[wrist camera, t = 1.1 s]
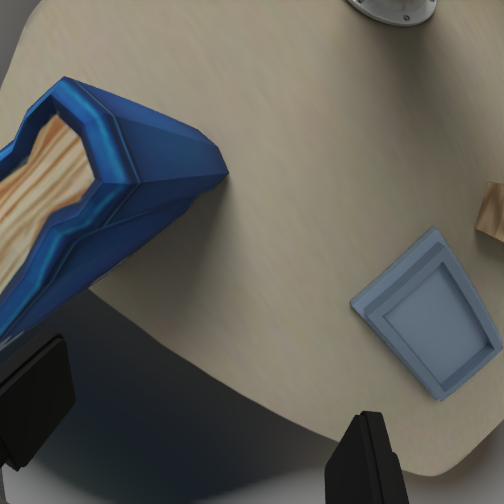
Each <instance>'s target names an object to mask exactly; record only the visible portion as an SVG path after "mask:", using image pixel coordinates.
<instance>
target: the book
mask: <svg viewBox="0 0 504 504" xmlns="http://www.w3.org/2000/svg"><path fill="white" fill-rule="evenodd" d="M228 174H229V171H228V169H227V167H226V164H225V162H224V160H223V157H222V155H221V153H220V150H219V148H218V147H217V146H216V145H215V144H214V143H213V142H212V141H210V140H209V139H208V138H207V137H206V136H205V135H203V134H202V133H201V132H200V131H199V130H198V129H195V128H193V127H191V126H189V125H187V124H184V123H182V122H180V121H178V120H175V119H173V118H171V117H169V116H166V115H164V114H162V113H159V112H157V111H154V110H152V109H150V108H147V107H145V106H142V105H140V104H138V103H135V102H133V101H130V100H128V99H125V98H123V97H120V96H117V95H115V94H112V93H110V92H107V91H104V90H102V89H99V88H96V87H93V86H91V85H88V84H85V83H82V82H80V81H77V80H74V79H71V78H68V77H65V76H64V77H63V78H61V79H60V80H59V81H58V82H57V83H56V84H54V85H53V86H52V87H51V88H50V89H49V90H48V91H47V92H46V93H45V94H44V95H42V96H41V97H40V98H39V99H38V100H37V101H36V102H35V103H34V104H33V105H32V106H31V107H30V108H29V109H28V110H27V112H26V114H25V116H24V119H23V121H22V123H21V125H20V127H19V130H18V132H17V134H16V136H15V139H14V140H13V141H12V142H10V143H9V144H8V145H7V146H5V147H4V148H3V149H2V150H1V151H0V352H1V351H2V350H3V349H4V348H6V347H7V346H8V345H10V344H11V343H12V342H14V341H15V340H16V339H18V338H19V337H20V336H22V335H23V334H24V333H26V332H27V331H28V330H30V329H31V328H32V327H34V326H35V325H36V324H38V323H39V322H41V321H42V320H43V319H44V318H46V317H47V316H49V315H50V314H51V313H53V312H54V311H56V310H57V309H59V308H60V307H61V306H63V305H64V304H65V303H67V302H68V301H70V300H71V299H73V298H74V297H76V296H77V295H79V294H80V293H81V292H83V291H84V290H86V289H87V288H89V287H90V286H92V285H93V284H95V283H96V282H97V281H99V280H100V279H102V278H103V277H105V276H106V275H108V274H109V273H110V272H111V271H112V270H114V269H115V268H116V267H117V266H119V265H120V264H121V263H122V262H124V261H125V260H126V259H127V258H129V257H130V256H131V255H132V254H134V253H135V252H136V251H137V250H139V249H140V248H141V247H142V246H144V245H145V244H146V243H147V242H148V241H150V240H151V239H152V238H153V237H155V236H156V235H157V234H158V233H159V232H161V231H162V230H163V229H164V228H166V227H167V226H168V225H169V224H171V223H172V222H173V221H174V220H176V219H177V218H178V217H180V216H181V215H182V214H183V213H185V211H186V210H187V209H188V208H189V206H190V205H191V204H192V203H193V201H194V200H195V199H196V198H197V196H198V195H199V194H200V193H203V192H206V191H209V190H212V189H214V188H215V187H216V186H217V185H218V184H219V183H220V182H221V181H222V180H223V179H224V178H225V177H226V176H227V175H228Z"/></svg>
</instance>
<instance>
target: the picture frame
mask: <svg viewBox="0 0 504 504" xmlns="http://www.w3.org/2000/svg"><path fill="white" fill-rule="evenodd" d="M474 228H475V229H477V230H479V231H481V232H483V233H485V234H487V235H489V236H491V237H493V238H495V239H497V240H499V241H501V242H503V243H504V184H498V183H492V182H488V185H487V189H486V192H485V196H484V199H483V202H482V206H481V209H480V212H479V215H478V218H477V221H476V224H475V227H474Z"/></svg>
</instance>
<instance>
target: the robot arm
mask: <svg viewBox="0 0 504 504" xmlns="http://www.w3.org/2000/svg"><path fill="white" fill-rule="evenodd" d="M348 1H349V2H350V3H351V4H352V5H353V6H354V7H355V8H356V9H358V10H359V11H361V12H362V13H364V14H365V15H367V16H369V17H371V18H373V19H375V20H377V21H380V22H383V23H385V24H390V25H394V26H404V27H405V26H414V25H418V24H421V23H422V22H424V21H426V20H427V19H428V18H429V17H430V16H431V15H432V14H433V12H434V11H435V8H436V5H437V0H348ZM358 2H359V3H358ZM75 399H76V396H75V392H74V386H73V381H72V376H71V370H70V364H69V358H68V351H67V344H66V341H65V340H64V339H63V336H62V335H61V334H59V333H57V332H55V331H52V330H50V329H45V330H43V331H42V332H41V333H39V334H38V335H37V336H36V337H34V338H33V339H32V340H31V341H29V342H28V343H27V344H26V345H24V346H23V347H22V348H21V349H19V350H18V351H17V352H16V353H15V354H13V355H12V356H11V357H10V358H9V359H7V360H6V361H5V362H4V363H3V364H1V365H0V504H9V503H8V502H6V497H5V490H4V483H3V475H2V466H3V465H4V463H6V464H7V465H8V466H10V467H12V468H13V469H14V470H16V471H19V469H20V468H21V467H25V466H26V465H27V464H28V463H29V462H30V460H31V459H32V458H33V457H34V455H35V454H36V453H37V451H38V450H39V449H40V448H41V446H42V445H43V444H44V442H45V441H46V440H47V438H48V437H49V436H50V435H51V433H52V432H53V431H54V430H55V428H56V427H57V426H58V425H59V423H60V422H61V421H62V420H63V418H64V417H65V416H66V415H67V413H68V412H69V411H70V410H71V408H72V407H73V406H74V404H75ZM325 501H326V504H409V501H408V496H407V492H406V488H405V484H404V479H403V475H402V471H401V467H400V463H399V459H398V457H397V455H396V454H395V453H394V452H392V449H391V445H390V441H389V437H388V433H387V430H386V426H385V422H384V419H383V415H382V413H380V412H371V411H362V412H361V413H360V415H355V416H354V418H353V420H352V421H351V423H350V425H349V427H348V429H347V430H346V432H345V434H344V436H343V437H342V439H341V441H340V443H339V444H338V446H337V448H336V449H335V451H334V453H333V454H332V456H331V458H330V459H329V461H328V462H327V464H326V467H325Z"/></svg>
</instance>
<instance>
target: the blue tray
mask: <svg viewBox="0 0 504 504" xmlns="http://www.w3.org/2000/svg"><path fill="white" fill-rule="evenodd" d="M350 303H351V305H352V307H353V308H354V309H355V310H356V311H357V312H358V313H359V314H360V315H361V316H362V318H363V319H364V320H365V321H366V322H367V323H368V324H369V325H370V326H371V327H372V328H373V330H374V331H375V332H376V333H377V334H378V335H379V336H380V337H381V338H382V340H383V341H384V342H385V343H386V344H387V345H388V346H389V347H390V348H391V350H392V351H393V352H394V353H395V354H396V355H397V356H398V357H399V359H400V360H401V361H402V362H403V363H404V364H405V365H406V367H407V368H408V369H409V370H410V371H411V372H412V373H413V375H414V376H415V377H416V378H417V379H418V380H419V381H420V383H421V384H422V385H423V386H424V387H425V388H426V389H427V391H428V392H429V393H430V394H431V395H432V396H433V398H434V399H435V400H437V399H438V398H439V399H440V401H441V402H442V401H443V400H444V399H445V398H447V397H448V396H449V395H451V394H452V393H453V392H454V391H456V390H457V389H458V388H459V387H461V386H462V385H463V384H464V383H465V382H467V381H468V380H469V379H470V378H471V377H472V376H474V375H475V374H476V373H477V372H478V371H479V370H480V369H482V368H483V367H484V366H485V365H486V364H487V363H488V362H489V361H490V360H491V359H492V358H494V357H495V356H496V355H497V354H498V353H499V352H500V351H501V350H502V349H503V346H502V343H503V341H502V339H501V337H500V335H499V333H498V331H497V329H496V327H495V325H494V323H493V321H492V319H491V317H490V315H489V313H488V311H487V310H486V308H485V306H484V304H483V302H482V300H481V299H480V297H479V295H478V293H477V291H476V290H475V288H474V286H473V284H472V283H471V281H470V279H469V278H468V276H467V274H466V273H465V271H464V269H463V268H462V266H461V265H460V263H459V261H458V260H457V258H456V257H455V255H454V253H453V252H452V250H451V249H450V247H449V246H448V244H447V243H446V241H445V240H444V238H443V237H442V235H441V234H440V232H439V231H438V229H437V228H435V227H433V226H432V227H431V228H430V229H429V230H428V231H427V232H426V233H425V234H424V235H423V236H422V237H421V238H420V239H419V240H418V241H416V242H415V243H414V244H413V245H412V246H411V247H410V248H409V249H408V250H407V251H406V252H405V253H404V254H403V255H402V256H401V257H400V258H398V259H397V260H396V261H395V262H394V263H393V264H392V265H391V266H390V267H389V268H387V269H386V270H385V271H384V272H383V273H382V274H381V275H380V276H379V277H377V278H376V279H375V280H374V281H373V282H372V283H371V284H369V285H368V286H367V287H366V288H365V289H364V290H363V291H361V292H360V293H359V294H358V295H357V296H356V297H354V298H353V299H352V300H351V301H350Z"/></svg>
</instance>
